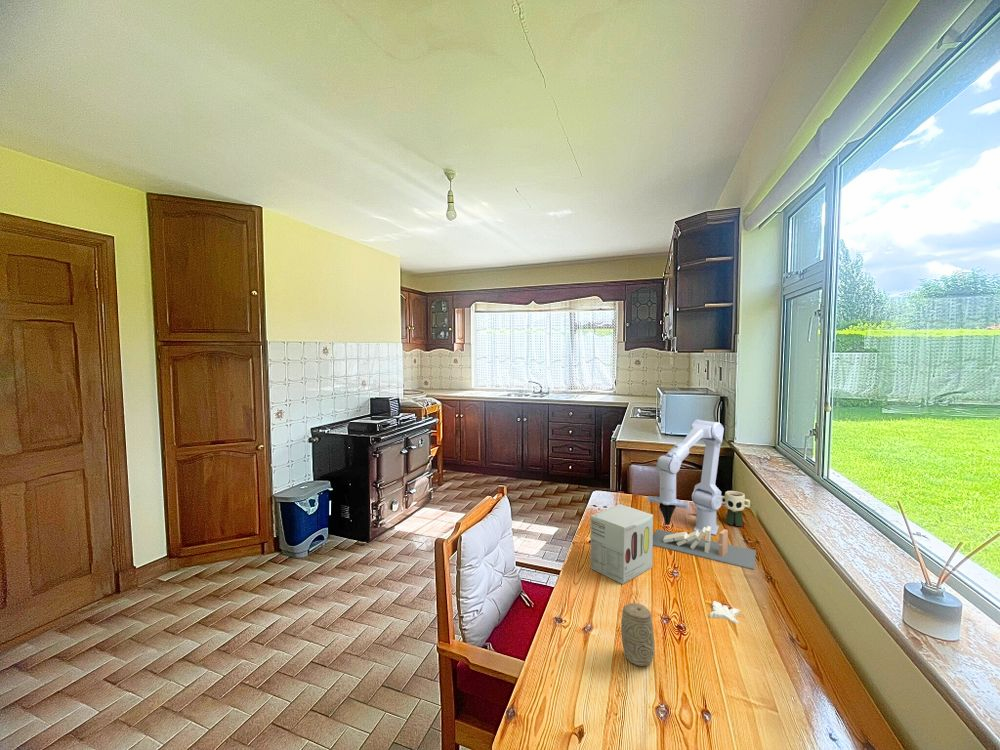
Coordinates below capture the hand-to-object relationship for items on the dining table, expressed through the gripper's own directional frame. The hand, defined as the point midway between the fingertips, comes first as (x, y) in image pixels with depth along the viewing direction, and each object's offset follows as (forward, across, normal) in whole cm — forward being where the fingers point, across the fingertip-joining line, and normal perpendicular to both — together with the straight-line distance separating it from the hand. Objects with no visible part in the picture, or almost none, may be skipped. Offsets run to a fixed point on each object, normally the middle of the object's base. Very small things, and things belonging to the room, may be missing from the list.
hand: (667, 523), depth 155 cm
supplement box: (+7, -8, -28) cm, 30 cm away
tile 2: (+6, +4, 0) cm, 7 cm away
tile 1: (+6, -1, 0) cm, 6 cm away
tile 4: (+7, +14, 0) cm, 15 cm away
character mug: (+7, +20, +32) cm, 38 cm away
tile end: (+7, +19, 0) cm, 20 cm away
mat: (+7, +11, +2) cm, 13 cm away
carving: (+7, +8, -67) cm, 68 cm away
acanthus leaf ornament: (+8, +23, -37) cm, 44 cm away
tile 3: (+6, +9, 0) cm, 11 cm away
